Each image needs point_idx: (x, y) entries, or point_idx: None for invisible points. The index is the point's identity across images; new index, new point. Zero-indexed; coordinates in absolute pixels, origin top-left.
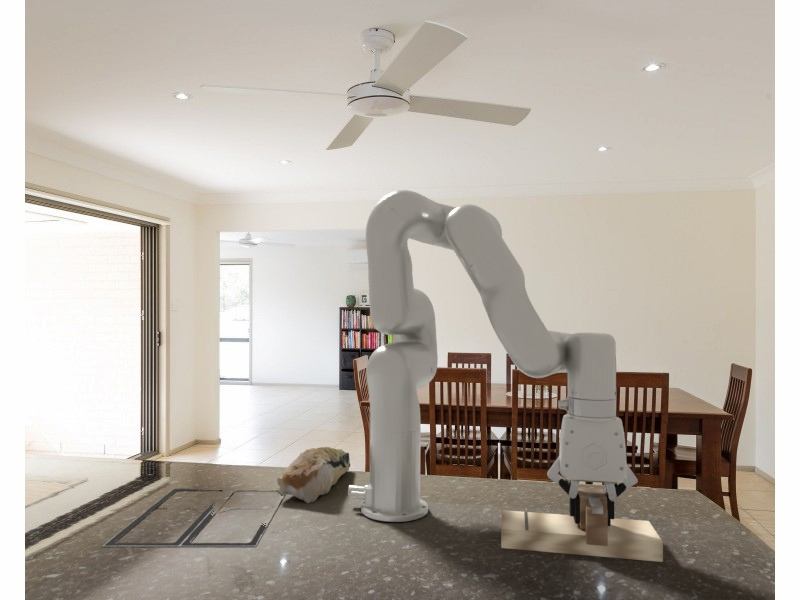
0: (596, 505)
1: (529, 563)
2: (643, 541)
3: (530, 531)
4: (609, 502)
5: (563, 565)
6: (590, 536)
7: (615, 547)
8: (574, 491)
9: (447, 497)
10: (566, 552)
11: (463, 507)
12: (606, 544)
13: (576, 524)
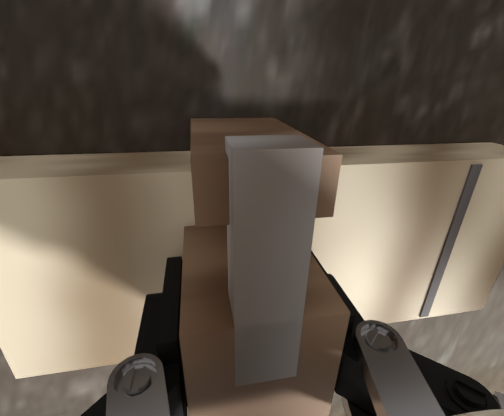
0: (286, 156)
1: (450, 36)
2: (23, 176)
3: (466, 158)
4: (163, 336)
5: (346, 42)
6: (267, 123)
7: (157, 160)
8: (382, 355)
9: (499, 387)
10: None
11: (486, 353)
12: (195, 119)
13: None
